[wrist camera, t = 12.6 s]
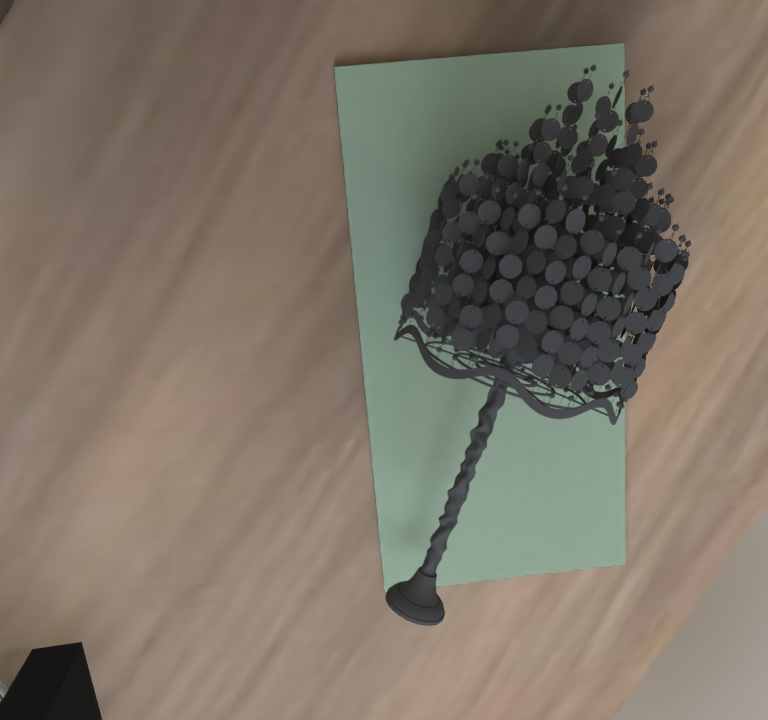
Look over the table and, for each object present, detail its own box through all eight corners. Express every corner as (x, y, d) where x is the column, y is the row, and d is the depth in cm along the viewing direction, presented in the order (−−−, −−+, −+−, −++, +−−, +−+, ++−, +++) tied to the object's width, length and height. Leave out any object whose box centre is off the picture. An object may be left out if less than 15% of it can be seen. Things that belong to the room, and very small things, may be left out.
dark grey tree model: (309, 524, 35) (302, 649, 26) (472, 50, 30) (534, -3, 21) (493, 574, 36) (549, 710, 27) (676, 128, 31) (818, 111, 22)
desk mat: (333, 67, 30) (333, 66, 30) (621, 43, 31) (624, 42, 30) (384, 589, 36) (384, 592, 36) (623, 561, 37) (626, 564, 36)
